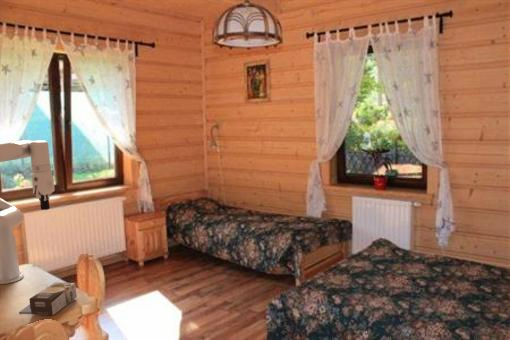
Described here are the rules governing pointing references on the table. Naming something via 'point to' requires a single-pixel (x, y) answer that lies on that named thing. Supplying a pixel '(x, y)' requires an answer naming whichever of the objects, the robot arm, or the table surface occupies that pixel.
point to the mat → (26, 310)
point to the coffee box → (53, 298)
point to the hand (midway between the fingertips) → (45, 209)
